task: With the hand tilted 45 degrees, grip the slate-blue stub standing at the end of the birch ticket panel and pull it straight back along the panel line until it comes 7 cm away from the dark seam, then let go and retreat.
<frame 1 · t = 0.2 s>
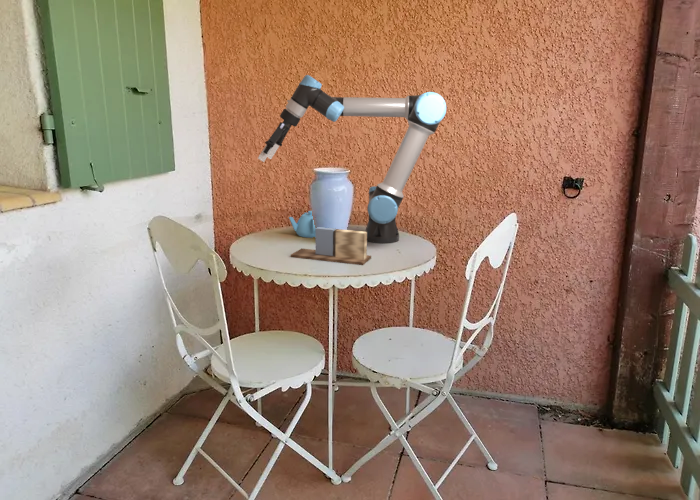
hand: (264, 158, 217), 35 cm above the table, tool tilted 35°, fingers open, 13 cm apart
ticket panel: (334, 258, 207), on the table
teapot: (311, 235, 244), on the table
stub: (325, 241, 206), point 6 cm above the table, slide at 0.0 cm
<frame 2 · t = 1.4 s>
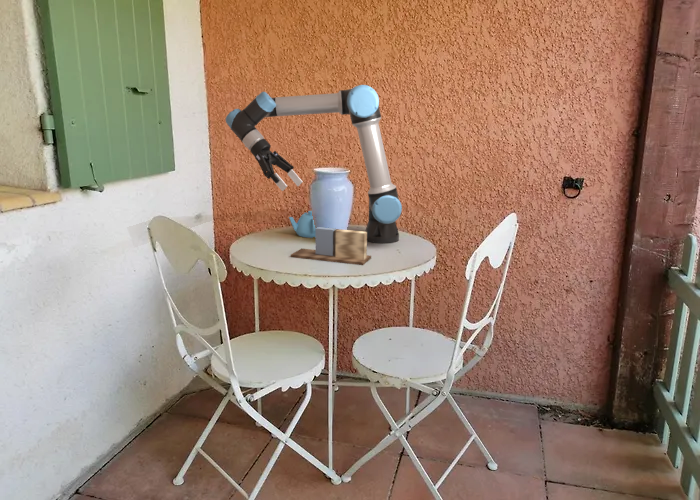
hand: (292, 186, 208), 26 cm above the table, tool tilted 45°, fingers open, 13 cm apart
nothing on the table moved.
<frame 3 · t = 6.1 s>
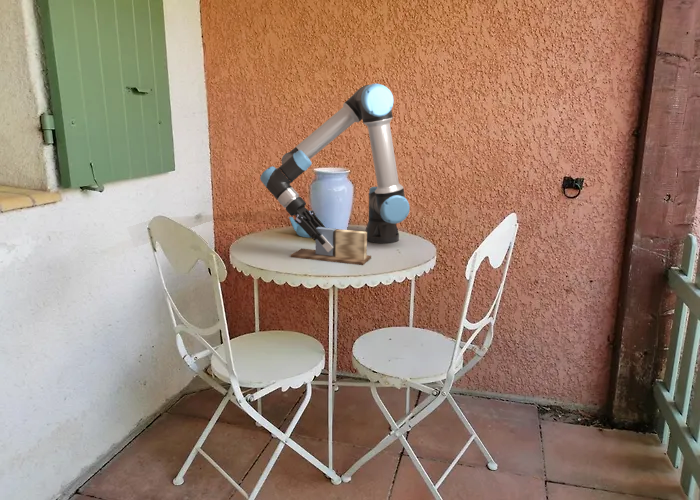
hand: (332, 248, 206), 4 cm above the table, tool tilted 45°, fingers closed on ticket panel, 3 cm apart
nothing on the table moved.
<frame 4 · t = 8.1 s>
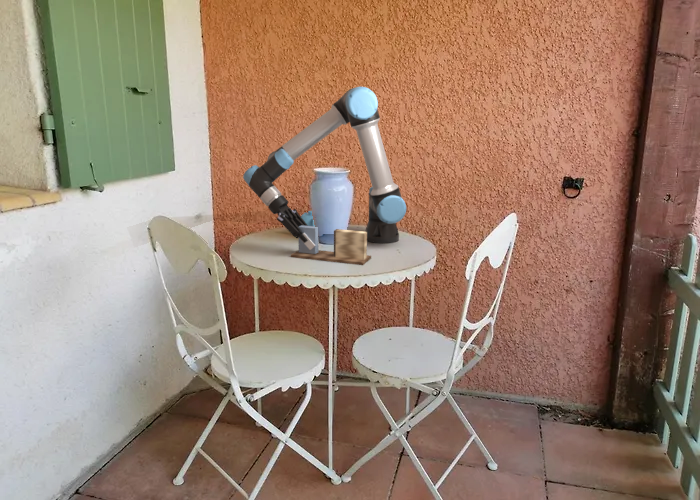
hand: (314, 246, 208), 4 cm above the table, tool tilted 45°, fingers closed on stub, 3 cm apart
stub: (308, 239, 209), point 6 cm above the table, slide at 7.1 cm, touching gripper
everything else where it was.
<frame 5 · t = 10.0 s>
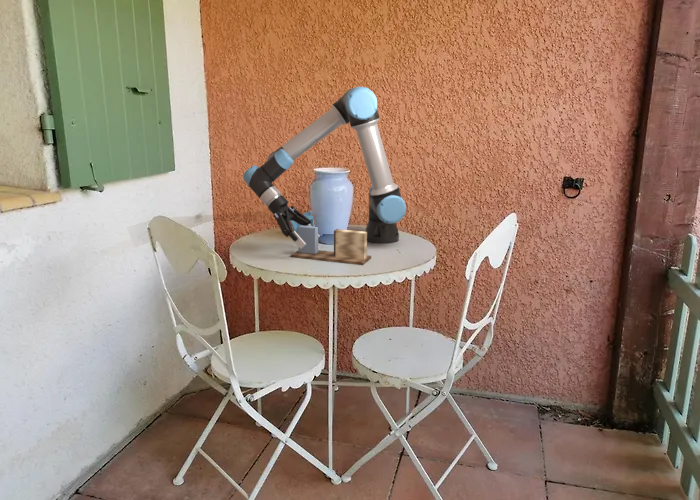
hand: (310, 242, 209), 5 cm above the table, tool tilted 45°, fingers open, 13 cm apart
stub: (308, 239, 209), point 6 cm above the table, slide at 7.2 cm
everything else where it was.
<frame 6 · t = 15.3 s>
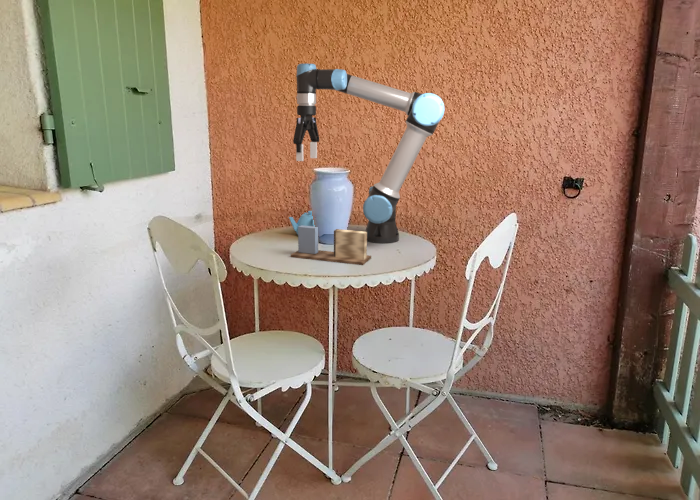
hand: (306, 159, 220), 35 cm above the table, tool pointing down, fingers open, 13 cm apart
nothing on the table moved.
at the end: stub slide at 7.2 cm; the gripper is holding nothing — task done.
